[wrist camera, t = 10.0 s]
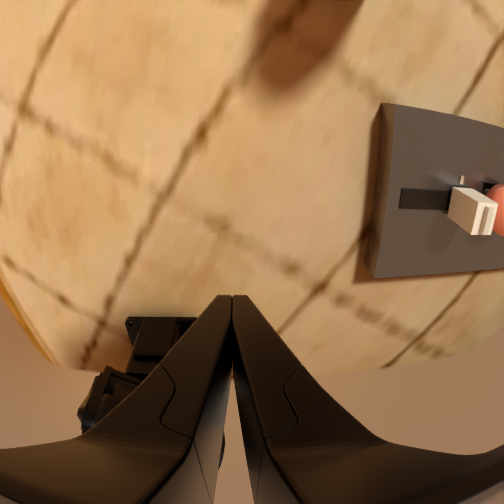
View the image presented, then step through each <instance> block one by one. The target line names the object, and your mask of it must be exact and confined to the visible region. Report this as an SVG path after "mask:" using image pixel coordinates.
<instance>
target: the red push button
mask: <svg viewBox="0 0 504 504" xmlns="http://www.w3.org/2000/svg"><path fill="white" fill-rule="evenodd" d="M482 194H483V195H485V196H486V197H488V198H490V199H491V200H493V201H495V202H496V203H498V207H497V212H496V216H495V220H494V224H493V228H492V230H493V231H494V232H496V233H497V234H498V235H500V236H504V184H497V185H495V186H493V187H492V188H491V189H489V188H487V187H483V189H482Z"/></svg>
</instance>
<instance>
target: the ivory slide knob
mask: <svg viewBox="0 0 504 504" xmlns="http://www.w3.org/2000/svg"><path fill="white" fill-rule="evenodd" d="M497 207H498V203H496V202H495V201H493V200H491V199H490V198H488V197H486V196H485V195H483V194H481V193H479V192H478V191H476V190H474V189H471V188H460V187H453V189H452V195H451V200H450V205H449V211H448V216H447V217H448V218H450V219H451V220H452V221H454V222H455V223H456V224H458V225H459V226H460V227H461V228H463V229H464V230H465V231H467V232H468V233H469V234H470V235H491V232H492V228H493V224H494V220H495V216H496V212H497Z"/></svg>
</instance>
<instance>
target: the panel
mask: <svg viewBox="0 0 504 504" xmlns="http://www.w3.org/2000/svg"><path fill="white" fill-rule="evenodd" d="M484 182H485V183H493V186H495V185H497V184H504V128H501V127H498V126H494V125H491V124H487V123H484V122H480V121H476V120H472V119H468V118H464V117H460V116H455V115H451V114H446V113H441V112H436V111H431V110H426V109H421V108H415V107H409V106H403V105H396V104H389V103H382V108H381V129H380V144H379V157H378V169H377V179H376V189H375V197H374V206H373V214H372V221H371V228H370V235H369V242H368V248H367V254H366V260H365V265H366V267H367V269H368V270H369V272H370V273H371V275H372V276H373V278H387V277H403V276H417V275H430V274H443V273H455V272H467V271H478V270H489V269H500V268H504V236H500V235H498V234H497V233H496V232H494V231H493V230H492V232H491V235H470V234H469V233H468V232H467V231H465V230H464V229H463V228H461V227H460V226H459V225H458V224H456V223H455V222H454V221H452V220H451V219H450V218H448V217H447V216H448V211H449V205H450V200H451V195H452V189H453V187H460V188H471V189H474V190H476V191H478V192H479V193H481V194H482V189H483V183H484Z"/></svg>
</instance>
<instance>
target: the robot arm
mask: <svg viewBox="0 0 504 504" xmlns="http://www.w3.org/2000/svg"><path fill="white" fill-rule="evenodd" d="M130 322H132V323H133V324H132V323H130ZM125 325H126V328H127V331H128V334H129V337H130V340H131V343H132V346H133V349H132V353H131V356H130V359H129V362H128V365H127V368H126V371H125V373H123V372H120V371H117V370H115V369H113V367H110V366H107V365H106V367H105V370H104V372H103V373H102V372H101V373H100V375H99V376H96V377H95V379H94V382H93V385H92V387H91V390H90V392H89V394H88V395H87V397H86V398H85V400H84V401H83V403H82V404H81V406H80V407H79V410H78V413H77V416H78V418H79V420H80V422H81V424H82V425H81V430H82V435H80V436H78V437H76V438H73V439H69V440H64V441H59V442H53V443H47V444H40V445H33V446H26V447H17V448H8V449H0V504H213V502H214V495H215V488H216V481H217V474H218V470H219V468H220V465H221V462H222V459H223V454H224V448H225V436H224V424H225V417H226V410H227V404H228V396H229V389H230V383H231V375H232V360H233V376H234V383H235V390H236V397H237V403H238V410H239V416H240V423H241V429H242V435H243V441H244V447H245V454H246V459H247V465H248V471H249V477H250V482H251V488H252V493H253V499H254V504H504V445H501V446H499V447H497V448H495V449H494V450H491V451H488V452H486V453H482V454H476V455H458V454H450V453H443V452H436V451H431V450H425V449H419V448H414V447H409V446H404V445H399V444H394V443H391V442H388V441H385V440H383V439H381V438H379V437H378V436H376V435H374V434H373V433H371V432H370V431H369V430H368V429H367V428H366V427H364V426H363V425H362V424H361V423H360V422H359V421H358V420H356V419H355V418H354V417H353V416H352V415H351V414H350V413H349V412H348V411H346V410H345V409H344V408H343V407H342V406H341V405H340V404H339V403H337V402H336V401H335V400H334V399H333V398H332V397H331V396H330V395H329V394H328V393H327V392H326V391H325V390H324V389H323V388H322V387H321V386H320V385H319V384H318V383H317V381H316V380H315V379H314V378H313V377H312V376H311V375H310V373H309V372H308V371H307V370H306V368H305V367H304V366H303V365H302V364H301V362H300V361H299V360H298V359H297V357H296V356H295V355H294V354H293V352H292V351H291V350H290V349H289V348H288V346H287V345H286V344H285V343H284V341H283V340H282V339H281V338H280V336H279V335H278V334H277V332H276V331H275V330H274V329H273V327H272V326H271V325H270V324H269V322H268V321H267V320H266V319H265V317H264V316H263V315H262V314H261V312H260V311H259V310H258V308H257V307H256V306H255V305H254V303H253V302H252V301H251V299H250V298H249V297H248V296H247V295H234V296H233V297H232V296H231V295H217V296H216V297H215V298H214V300H213V301H212V302H211V303H210V304H209V305H208V307H207V308H206V309H205V310H204V311H203V312H202V314H201V315H200V316H199V317H198V318H196V317H128V318H127V319H126V321H125Z"/></svg>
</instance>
